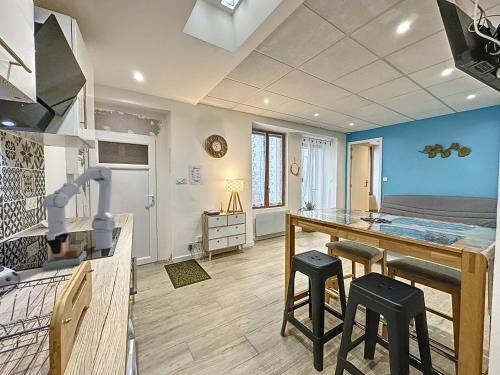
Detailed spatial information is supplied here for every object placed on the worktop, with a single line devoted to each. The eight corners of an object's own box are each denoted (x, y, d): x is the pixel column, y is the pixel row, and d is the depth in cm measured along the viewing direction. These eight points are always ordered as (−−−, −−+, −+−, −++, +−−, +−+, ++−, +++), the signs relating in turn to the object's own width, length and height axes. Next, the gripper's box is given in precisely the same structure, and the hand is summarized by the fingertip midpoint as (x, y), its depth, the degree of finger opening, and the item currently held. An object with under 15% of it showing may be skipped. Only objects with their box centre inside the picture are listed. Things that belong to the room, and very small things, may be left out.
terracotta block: (66, 253, 95) (65, 242, 94) (63, 256, 91) (62, 244, 91) (54, 254, 93) (53, 243, 93) (50, 257, 89) (50, 246, 89)
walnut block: (80, 258, 97) (79, 247, 97) (77, 261, 93) (77, 250, 93) (69, 259, 95) (68, 248, 95) (66, 262, 92) (65, 251, 91)
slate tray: (54, 261, 96) (53, 255, 96) (86, 256, 101) (86, 250, 101) (43, 270, 86) (42, 264, 86) (79, 265, 91) (79, 258, 91)
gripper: (51, 219, 96) (53, 248, 97) (36, 225, 83) (38, 259, 84) (71, 217, 99) (72, 246, 100) (59, 223, 86) (61, 256, 87)
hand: (58, 252), depth 92 cm, fingers closed on terracotta block, 4 cm apart
